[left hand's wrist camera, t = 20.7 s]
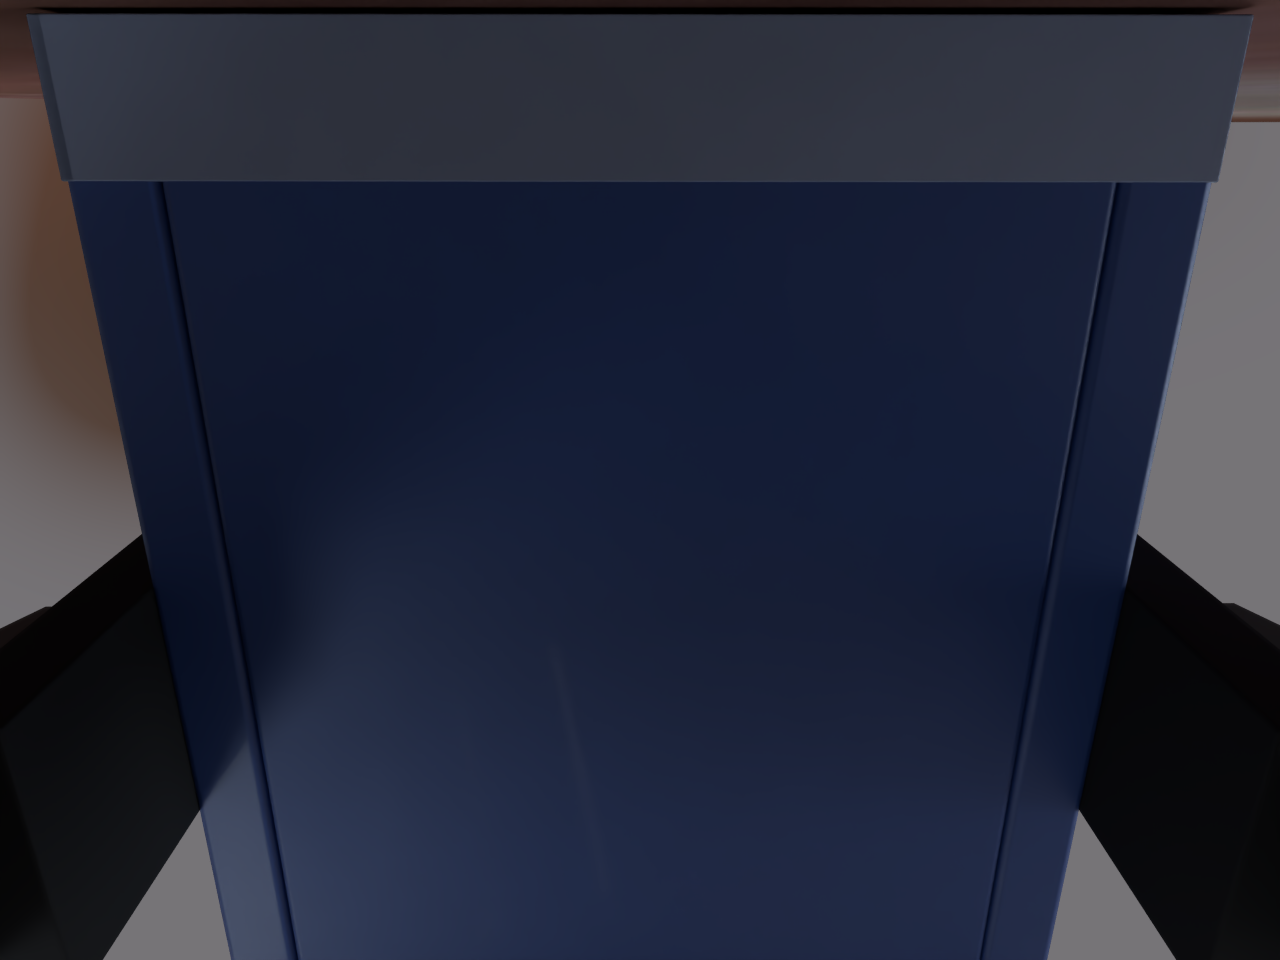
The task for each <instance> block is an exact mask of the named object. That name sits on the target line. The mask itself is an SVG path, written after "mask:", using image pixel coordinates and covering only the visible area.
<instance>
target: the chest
mask: <svg viewBox="0 0 1280 960" xmlns="http://www.w3.org/2000/svg"><path fill="white" fill-rule="evenodd" d="M1253 17H1254V16H1253V15H1252V14H181V13H28V14H27V20H28V25H29V30H30V34H31V39H32V44H33V49H34V53H35V58H36V63H37V67H38V72H39V77H40V82H41V86H42V91H43V96H44V100H45V105H46V110H47V114H48V119H49V124H50V129H51V133H52V138H53V143H54V148H55V152H56V157H57V162H58V166H59V171H60V176H61V180H62V181H68V183H69V187H70V192H71V197H72V202H73V206H74V211H75V216H76V221H77V225H78V230H79V235H80V240H81V245H82V249H83V254H84V259H85V264H86V268H87V273H88V278H89V283H90V288H91V292H92V297H93V302H94V307H95V311H96V316H97V321H98V326H99V330H100V335H101V340H102V345H103V349H104V354H105V359H106V364H107V369H108V373H109V378H110V383H111V387H112V392H113V397H114V402H115V407H116V412H117V416H118V421H119V426H120V431H121V435H122V440H123V445H124V450H125V455H126V459H127V464H128V469H129V474H130V478H131V483H132V488H133V493H134V497H135V502H136V507H137V512H138V517H139V521H140V526H141V531H142V536H143V540H144V545H145V550H146V555H147V559H148V564H149V569H150V574H151V579H152V583H153V588H154V593H155V598H156V602H157V607H158V612H159V617H160V621H161V626H162V631H163V636H164V641H165V645H166V650H167V655H168V660H169V664H170V669H171V674H172V679H173V683H174V688H175V693H176V698H177V702H178V707H179V712H180V717H181V721H182V726H183V731H184V736H185V740H186V745H187V750H188V755H189V759H190V764H191V769H192V774H193V778H194V783H195V788H196V793H197V797H198V802H199V807H200V812H201V817H202V822H203V827H204V831H205V836H206V841H207V846H208V850H209V855H210V860H211V865H212V870H213V874H214V879H215V884H216V889H217V893H218V898H219V903H220V908H221V913H222V917H223V922H224V927H225V932H226V936H227V941H228V946H229V951H230V955H231V960H1047V958H1048V953H1049V948H1050V943H1051V939H1052V934H1053V929H1054V924H1055V920H1056V915H1057V910H1058V905H1059V901H1060V896H1061V891H1062V886H1063V882H1064V877H1065V872H1066V868H1067V863H1068V858H1069V853H1070V849H1071V844H1072V839H1073V834H1074V830H1075V825H1076V820H1077V816H1078V811H1079V806H1080V801H1081V797H1082V792H1083V787H1084V783H1085V778H1086V773H1087V768H1088V764H1089V759H1090V754H1091V749H1092V745H1093V740H1094V735H1095V731H1096V726H1097V721H1098V716H1099V712H1100V707H1101V702H1102V697H1103V693H1104V688H1105V683H1106V679H1107V674H1108V669H1109V664H1110V660H1111V655H1112V650H1113V645H1114V641H1115V636H1116V631H1117V627H1118V622H1119V617H1120V612H1121V608H1122V603H1123V598H1124V593H1125V589H1126V584H1127V579H1128V574H1129V570H1130V565H1131V560H1132V556H1133V551H1134V546H1135V541H1136V537H1137V532H1138V527H1139V522H1140V518H1141V513H1142V508H1143V504H1144V499H1145V494H1146V489H1147V485H1148V480H1149V475H1150V470H1151V466H1152V461H1153V456H1154V452H1155V447H1156V442H1157V437H1158V433H1159V428H1160V423H1161V418H1162V414H1163V409H1164V404H1165V400H1166V395H1167V390H1168V385H1169V380H1170V376H1171V371H1172V366H1173V362H1174V357H1175V352H1176V348H1177V343H1178V338H1179V333H1180V329H1181V324H1182V319H1183V314H1184V310H1185V305H1186V300H1187V295H1188V291H1189V286H1190V281H1191V277H1192V272H1193V267H1194V262H1195V258H1196V253H1197V248H1198V243H1199V239H1200V234H1201V229H1202V225H1203V220H1204V215H1205V210H1206V206H1207V201H1208V196H1209V191H1210V187H1211V183H1216V182H1218V180H1219V175H1220V171H1221V166H1222V161H1223V157H1224V152H1225V147H1226V143H1227V138H1228V133H1229V129H1230V124H1231V119H1232V115H1233V110H1234V105H1235V101H1236V96H1237V91H1238V87H1239V82H1240V77H1241V73H1242V68H1243V63H1244V59H1245V54H1246V49H1247V45H1248V40H1249V35H1250V31H1251V26H1252V21H1253Z"/></svg>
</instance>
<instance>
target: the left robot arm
mask: <svg viewBox="0 0 1280 960" xmlns="http://www.w3.org/2000/svg"><path fill="white" fill-rule="evenodd" d="M199 810H200V807H199V802H198V797H197V793H196V788H195V783H194V778H193V774H192V769H191V764H190V759H189V755H188V750H187V745H186V740H185V736H184V731H183V726H182V721H181V717H180V712H179V707H178V702H177V698H176V693H175V688H174V683H173V679H172V674H171V669H170V664H169V660H168V655H167V650H166V645H165V641H164V636H163V631H162V626H161V621H160V617H159V612H158V607H157V602H156V598H155V593H154V588H153V583H152V579H151V574H150V569H149V564H148V559H147V555H146V550H145V545H144V540H143V536H142V534H141V535H140V536H139V537H138V538H136V539H135V540H134V541H133V542H131V543H130V544H129V545H128V546H127V547H125V548H124V549H123V550H122V551H120V552H119V553H118V554H117V555H115V556H114V557H113V558H112V559H110V560H109V561H108V562H107V563H106V564H104V565H103V566H102V567H101V568H99V569H98V570H97V571H96V572H94V573H93V574H92V575H91V576H89V577H88V578H87V579H86V580H84V581H83V582H82V583H81V584H80V585H78V586H77V587H76V588H75V589H73V590H72V591H71V592H70V593H68V594H67V595H66V596H65V597H63V598H62V599H61V600H60V601H58V602H57V603H56V604H55V605H53V606H52V607H44V608H42V609H40V610H38V611H36V612H34V613H32V614H30V615H27V616H25V617H23V618H21V619H19V620H17V621H15V622H13V623H11V624H9V625H7V626H5V627H3V628H0V960H103V959H104V957H105V955H106V954H107V952H108V951H109V949H110V948H111V946H112V945H113V943H114V942H115V940H116V938H117V937H118V935H119V934H120V932H121V931H122V929H123V928H124V926H125V925H126V923H127V921H128V920H129V918H130V917H131V915H132V914H133V912H134V911H135V909H136V907H137V906H138V904H139V903H140V901H141V900H142V898H143V897H144V895H145V894H146V892H147V891H148V889H149V888H150V886H151V884H152V883H153V881H154V880H155V878H156V877H157V875H158V874H159V872H160V871H161V869H162V867H163V866H164V864H165V863H166V861H167V860H168V858H169V857H170V855H171V854H172V852H173V850H174V849H175V847H176V846H177V844H178V843H179V841H180V840H181V838H182V837H183V835H184V833H185V832H186V830H187V829H188V827H189V826H190V824H191V823H192V821H193V820H194V818H195V816H196V815H197V813H198V812H199ZM1079 810H1080V812H1081V813H1082V815H1083V816H1084V818H1085V820H1086V821H1087V823H1088V824H1089V826H1090V827H1091V829H1092V830H1093V832H1094V833H1095V835H1096V837H1097V838H1098V840H1099V841H1100V843H1101V844H1102V846H1103V847H1104V849H1105V850H1106V852H1107V853H1108V855H1109V857H1110V858H1111V860H1112V861H1113V863H1114V864H1115V866H1116V867H1117V869H1118V871H1119V872H1120V874H1121V875H1122V877H1123V878H1124V880H1125V881H1126V883H1127V884H1128V886H1129V888H1130V889H1131V891H1132V892H1133V894H1134V895H1135V897H1136V898H1137V900H1138V901H1139V903H1140V904H1141V906H1142V907H1143V909H1144V911H1145V912H1146V914H1147V915H1148V917H1149V918H1150V920H1151V921H1152V923H1153V925H1154V926H1155V928H1156V929H1157V931H1158V932H1159V934H1160V935H1161V937H1162V938H1163V940H1164V942H1165V943H1166V945H1167V946H1168V948H1169V949H1170V951H1171V952H1172V954H1173V955H1174V957H1175V959H1176V960H1280V625H1278V624H1276V623H1274V622H1272V621H1270V620H1268V619H1266V618H1264V617H1262V616H1259V615H1257V614H1255V613H1253V612H1251V611H1249V610H1247V609H1245V608H1243V607H1241V606H1239V605H1236V604H1234V603H1222V602H1220V601H1219V600H1218V599H1217V598H1216V597H1214V596H1213V595H1212V594H1211V593H1209V592H1208V591H1207V590H1206V589H1204V588H1203V587H1202V586H1201V585H1199V584H1198V583H1197V582H1196V581H1194V580H1193V579H1192V578H1191V577H1190V576H1188V575H1187V574H1186V573H1185V572H1183V571H1182V570H1181V569H1180V568H1178V567H1177V566H1176V565H1175V564H1174V563H1172V562H1171V561H1170V560H1169V559H1167V558H1166V557H1165V556H1164V555H1162V554H1161V553H1160V552H1159V551H1157V550H1156V549H1155V548H1154V547H1152V546H1151V545H1150V544H1149V543H1148V542H1146V541H1145V540H1144V539H1143V538H1141V537H1140V536H1139V535H1138V534H1137V537H1136V541H1135V546H1134V551H1133V556H1132V560H1131V565H1130V570H1129V574H1128V579H1127V584H1126V589H1125V593H1124V598H1123V603H1122V608H1121V612H1120V617H1119V622H1118V627H1117V631H1116V636H1115V641H1114V645H1113V650H1112V655H1111V660H1110V664H1109V669H1108V674H1107V679H1106V683H1105V688H1104V693H1103V697H1102V702H1101V707H1100V712H1099V716H1098V721H1097V726H1096V731H1095V735H1094V740H1093V745H1092V749H1091V754H1090V759H1089V764H1088V768H1087V773H1086V778H1085V783H1084V787H1083V792H1082V797H1081V801H1080V806H1079Z"/></svg>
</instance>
